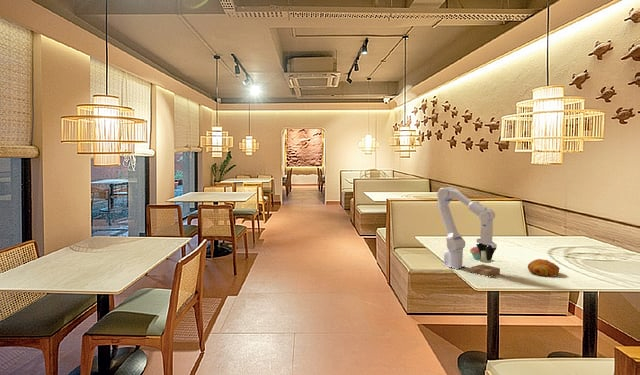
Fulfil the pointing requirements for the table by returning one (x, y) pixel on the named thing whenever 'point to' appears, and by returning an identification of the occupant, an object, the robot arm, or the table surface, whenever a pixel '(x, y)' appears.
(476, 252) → the cupcake
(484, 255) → the sage cylinder
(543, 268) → the croissant
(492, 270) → the walnut base
